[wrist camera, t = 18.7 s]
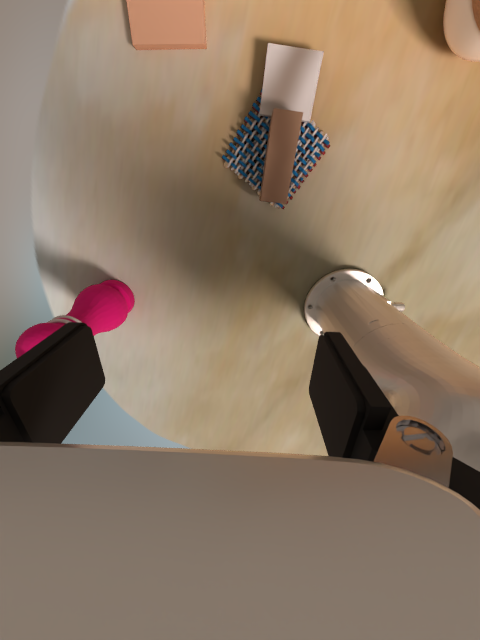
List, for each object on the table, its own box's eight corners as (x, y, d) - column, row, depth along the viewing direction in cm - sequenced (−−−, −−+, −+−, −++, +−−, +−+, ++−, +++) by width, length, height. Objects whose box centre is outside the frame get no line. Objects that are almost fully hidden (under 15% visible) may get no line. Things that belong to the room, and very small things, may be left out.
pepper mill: (89, 275, 41) (-34, 339, 23) (133, 276, 40) (44, 342, 23) (100, 315, 44) (-1, 399, 26) (141, 316, 44) (67, 401, 26)
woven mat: (280, 213, 36) (281, 214, 34) (219, 163, 34) (218, 161, 32) (332, 143, 32) (337, 140, 31) (268, 80, 30) (270, 72, 28)
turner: (322, 54, 27) (331, 35, 24) (292, 204, 34) (297, 205, 31) (267, 45, 27) (270, 26, 24) (249, 198, 34) (249, 199, 31)
